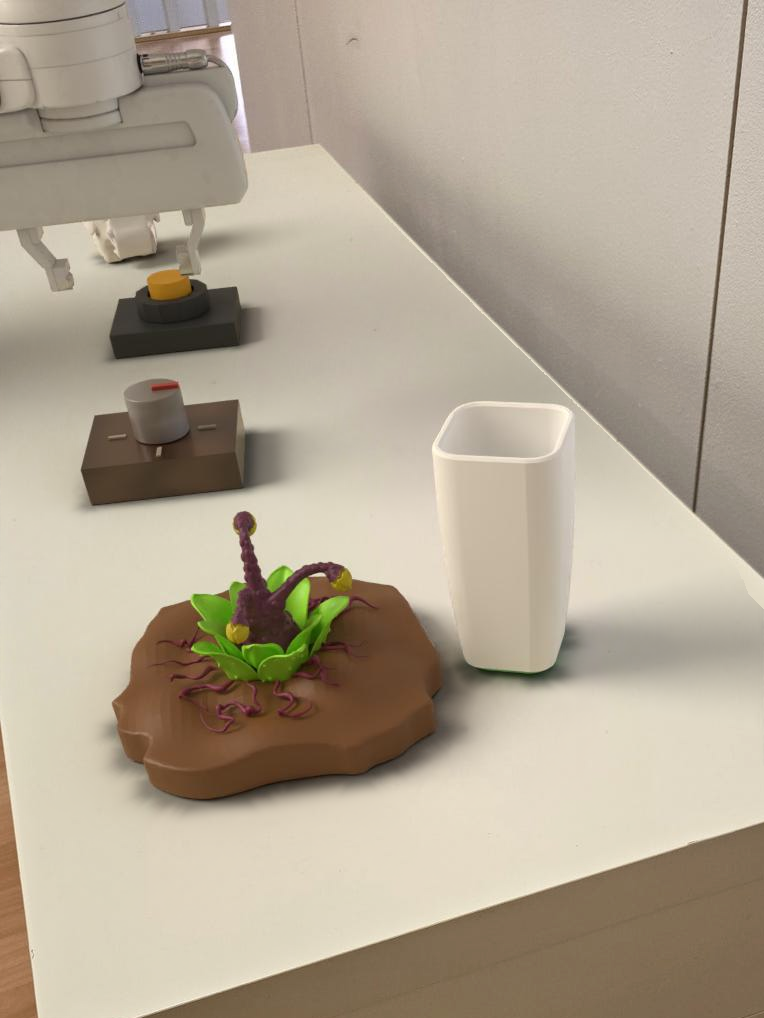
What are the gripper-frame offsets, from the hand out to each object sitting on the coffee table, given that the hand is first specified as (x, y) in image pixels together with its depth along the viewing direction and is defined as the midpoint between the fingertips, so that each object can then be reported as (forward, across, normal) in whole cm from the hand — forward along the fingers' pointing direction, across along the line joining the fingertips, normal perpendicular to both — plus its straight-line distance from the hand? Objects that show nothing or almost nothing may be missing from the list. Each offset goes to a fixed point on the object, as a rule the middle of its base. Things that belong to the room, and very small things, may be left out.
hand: (127, 281), depth 90 cm
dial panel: (+15, 0, 0) cm, 15 cm away
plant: (+15, -8, +33) cm, 37 cm away
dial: (+12, 0, 0) cm, 12 cm away
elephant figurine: (+15, +8, -55) cm, 57 cm away
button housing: (+15, +1, -30) cm, 33 cm away
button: (+11, +1, -30) cm, 32 cm away
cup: (+15, -24, +32) cm, 43 cm away
